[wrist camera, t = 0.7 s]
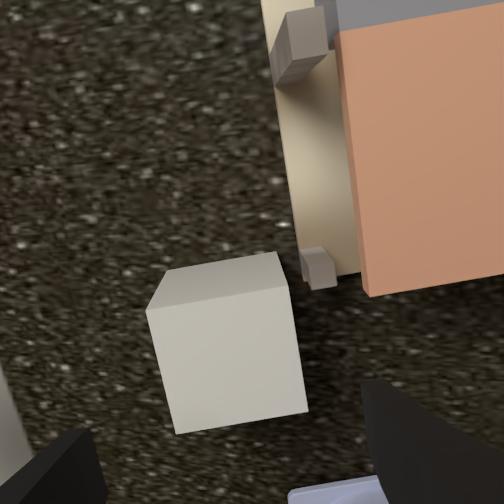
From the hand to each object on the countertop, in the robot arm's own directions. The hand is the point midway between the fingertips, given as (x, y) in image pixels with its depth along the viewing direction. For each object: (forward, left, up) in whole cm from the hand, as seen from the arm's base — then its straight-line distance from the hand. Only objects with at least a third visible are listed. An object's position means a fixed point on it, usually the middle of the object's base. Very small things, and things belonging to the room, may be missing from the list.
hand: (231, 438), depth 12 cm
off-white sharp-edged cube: (0, 0, -10) cm, 10 cm away
